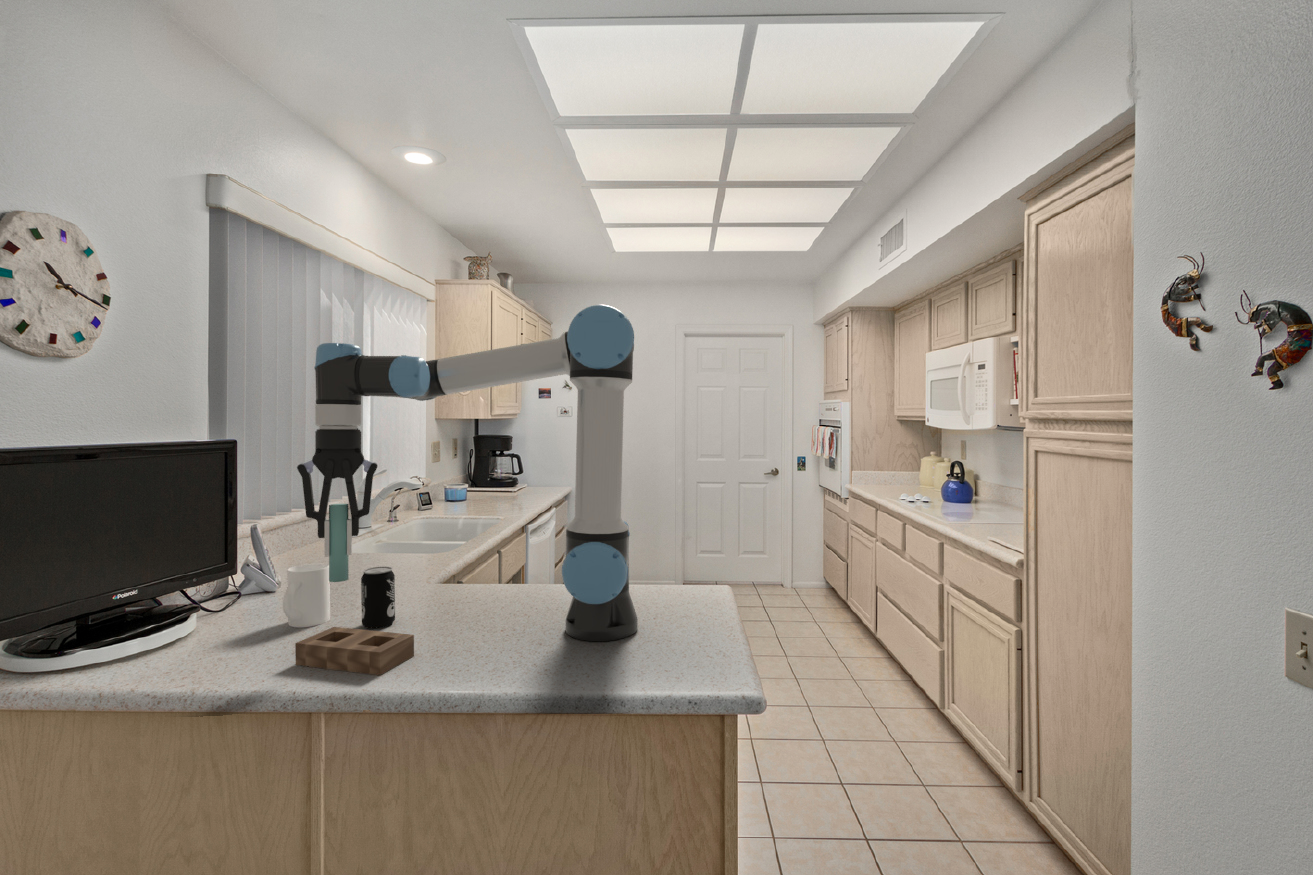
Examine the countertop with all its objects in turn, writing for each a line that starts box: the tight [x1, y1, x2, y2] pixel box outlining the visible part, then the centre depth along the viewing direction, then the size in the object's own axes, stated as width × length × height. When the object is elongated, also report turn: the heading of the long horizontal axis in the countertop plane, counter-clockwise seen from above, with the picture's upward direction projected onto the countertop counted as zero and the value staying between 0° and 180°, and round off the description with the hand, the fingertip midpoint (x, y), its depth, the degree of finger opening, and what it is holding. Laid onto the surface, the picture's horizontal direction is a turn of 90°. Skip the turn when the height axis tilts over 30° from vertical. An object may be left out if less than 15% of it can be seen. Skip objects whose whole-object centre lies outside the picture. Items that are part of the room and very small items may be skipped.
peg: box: [328, 503, 349, 583], centre depth 112 cm, size 3×3×14 cm
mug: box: [282, 562, 331, 628], centre depth 131 cm, size 8×12×12 cm
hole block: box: [294, 626, 415, 676], centre depth 110 cm, size 18×9×4 cm, turn 75°
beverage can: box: [360, 566, 396, 630], centre depth 130 cm, size 7×7×12 cm
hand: (338, 554), depth 112 cm, fingers closed on peg, 3 cm apart
